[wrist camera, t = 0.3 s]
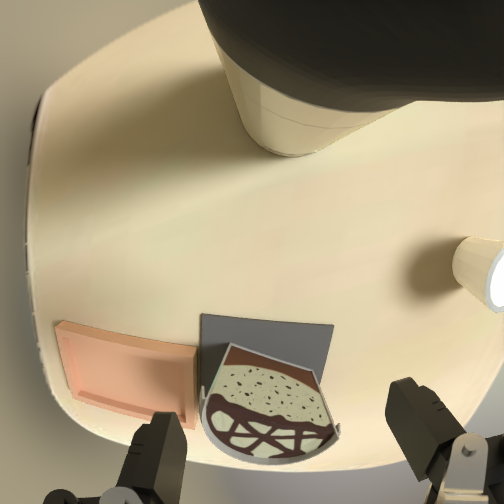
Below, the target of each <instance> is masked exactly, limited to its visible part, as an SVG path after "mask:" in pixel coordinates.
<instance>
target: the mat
mask: <svg viewBox="0 0 504 504" xmlns="http://www.w3.org/2000/svg"><path fill="white" fill-rule="evenodd" d="M333 329H334V325H326V324H309V323H294V322H281V321H269V320H258V319H248V318H238V317H228V316H219V315H211V314H202V339H201V388H202V386H204V394H205V397H207V395H208V393H209V390H210V388H211V386H212V383H213V381H214V379H215V376H216V374H217V372H218V369H219V367H220V365H221V362H222V360H223V358H224V355H225V353H226V351H227V348H228V346H229V344H230V342H231V343H234V344H236V345H239V346H242V347H245V348H248V349H250V350H253V351H256V352H259V353H262V354H265V355H268V356H271V357H274V358H277V359H280V360H283V361H286V362H289V363H293V364H296V365H299V366H302V367H306V368H309V369H312V370H314V373H315V375H316V378H317V381H318V383H319V385H320V382H321V378H322V374H323V370H324V366H325V363H326V359H327V354H328V350H329V346H330V342H331V338H332V333H333Z"/></svg>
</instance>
